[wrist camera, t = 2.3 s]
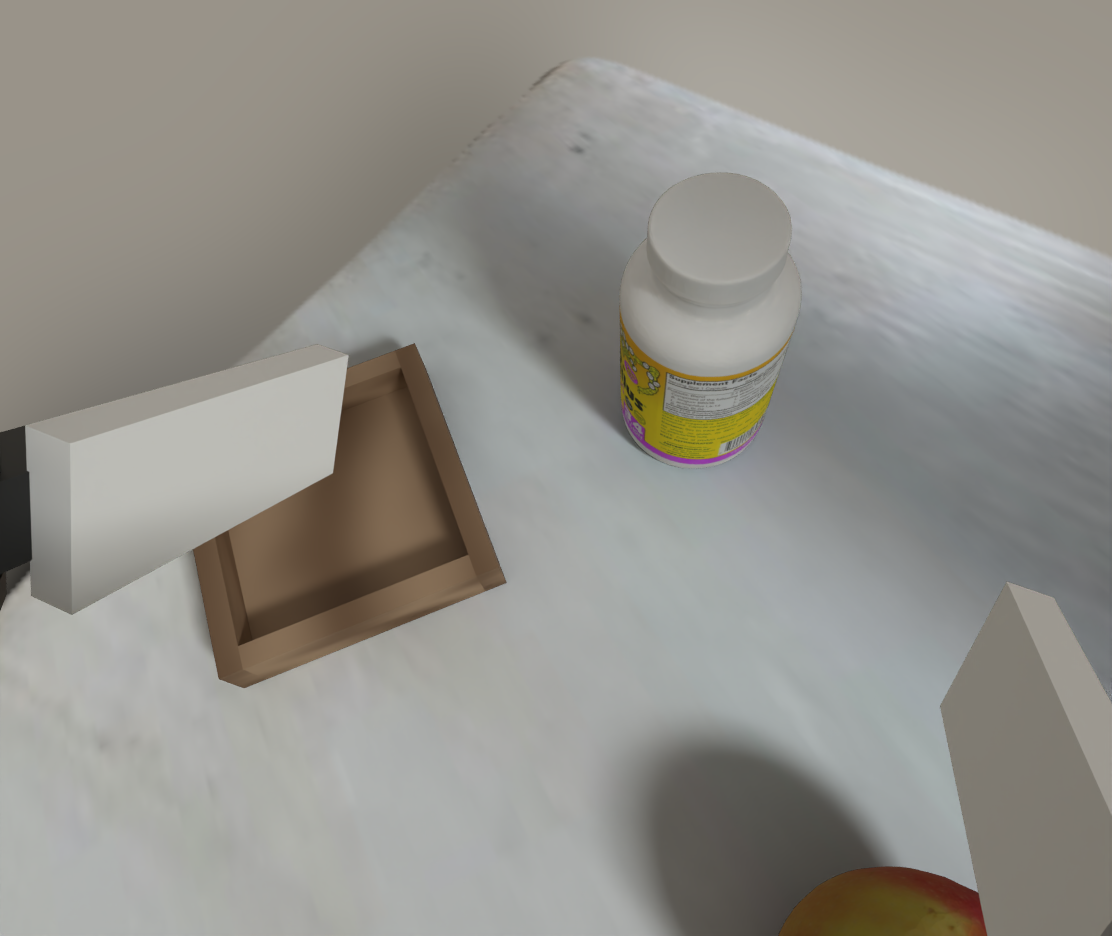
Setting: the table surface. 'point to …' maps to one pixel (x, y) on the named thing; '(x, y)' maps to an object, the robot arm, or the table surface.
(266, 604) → the walnut tray
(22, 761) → the table surface
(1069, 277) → the table surface
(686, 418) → the supplement bottle
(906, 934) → the apple
